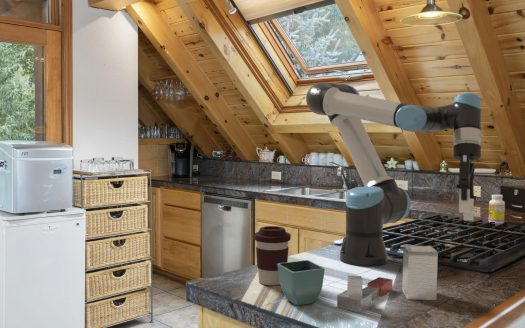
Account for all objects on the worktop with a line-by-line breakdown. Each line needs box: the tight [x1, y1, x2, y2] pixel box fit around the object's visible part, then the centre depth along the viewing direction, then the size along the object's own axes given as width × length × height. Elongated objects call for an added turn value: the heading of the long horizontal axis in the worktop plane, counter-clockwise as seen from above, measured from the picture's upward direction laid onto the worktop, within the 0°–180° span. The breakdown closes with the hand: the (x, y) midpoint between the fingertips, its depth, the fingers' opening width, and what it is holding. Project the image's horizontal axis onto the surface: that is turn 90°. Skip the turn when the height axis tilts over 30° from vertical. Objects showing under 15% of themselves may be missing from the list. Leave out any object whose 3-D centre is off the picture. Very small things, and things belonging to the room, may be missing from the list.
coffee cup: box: [253, 225, 292, 287], centre depth 141 cm, size 10×10×15 cm
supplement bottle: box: [488, 194, 506, 225], centre depth 239 cm, size 7×7×13 cm
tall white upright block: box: [401, 244, 439, 301], centre depth 131 cm, size 7×7×12 cm
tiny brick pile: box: [336, 275, 393, 314], centre depth 128 cm, size 6×21×7 cm, turn 143°
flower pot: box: [277, 259, 326, 306], centre depth 126 cm, size 9×9×9 cm
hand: (466, 216), depth 147 cm, fingers open, 13 cm apart
